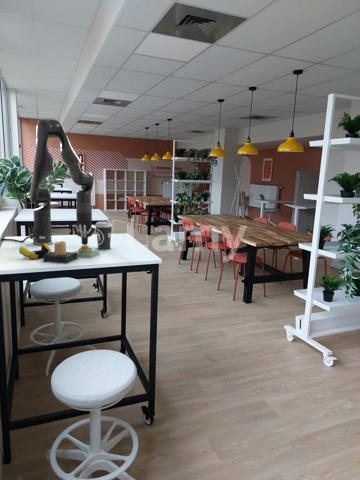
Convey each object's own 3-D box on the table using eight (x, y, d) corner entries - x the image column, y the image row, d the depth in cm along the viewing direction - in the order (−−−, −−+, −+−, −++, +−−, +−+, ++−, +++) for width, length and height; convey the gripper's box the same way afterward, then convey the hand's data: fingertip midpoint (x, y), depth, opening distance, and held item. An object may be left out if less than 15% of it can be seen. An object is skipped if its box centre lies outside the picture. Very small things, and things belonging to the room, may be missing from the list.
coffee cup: (108, 250, 188) (108, 224, 185) (92, 249, 189) (92, 223, 187) (115, 247, 197) (115, 221, 194) (99, 246, 199) (99, 221, 196)
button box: (71, 256, 173) (70, 249, 172) (80, 252, 182) (79, 246, 181) (90, 258, 171) (90, 251, 170) (98, 254, 179) (98, 247, 179)
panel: (43, 261, 162) (43, 254, 161) (55, 256, 171) (55, 250, 171) (66, 263, 159) (65, 256, 158) (77, 258, 169) (77, 252, 168)
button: (80, 249, 174) (80, 246, 174) (83, 248, 178) (83, 245, 177) (86, 250, 174) (86, 246, 173) (89, 248, 177) (89, 245, 177)
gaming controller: (17, 257, 167) (27, 261, 161) (17, 246, 166) (27, 249, 160) (46, 252, 179) (56, 256, 173) (45, 242, 178) (56, 245, 172)
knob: (62, 255, 162) (62, 243, 160) (52, 254, 162) (52, 242, 161) (68, 253, 167) (67, 241, 166) (58, 252, 167) (57, 240, 166)
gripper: (68, 211, 170) (69, 245, 173) (92, 212, 167) (93, 247, 170) (76, 210, 177) (77, 242, 180) (99, 211, 174) (99, 244, 177)
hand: (84, 244), depth 175 cm, fingers closed
